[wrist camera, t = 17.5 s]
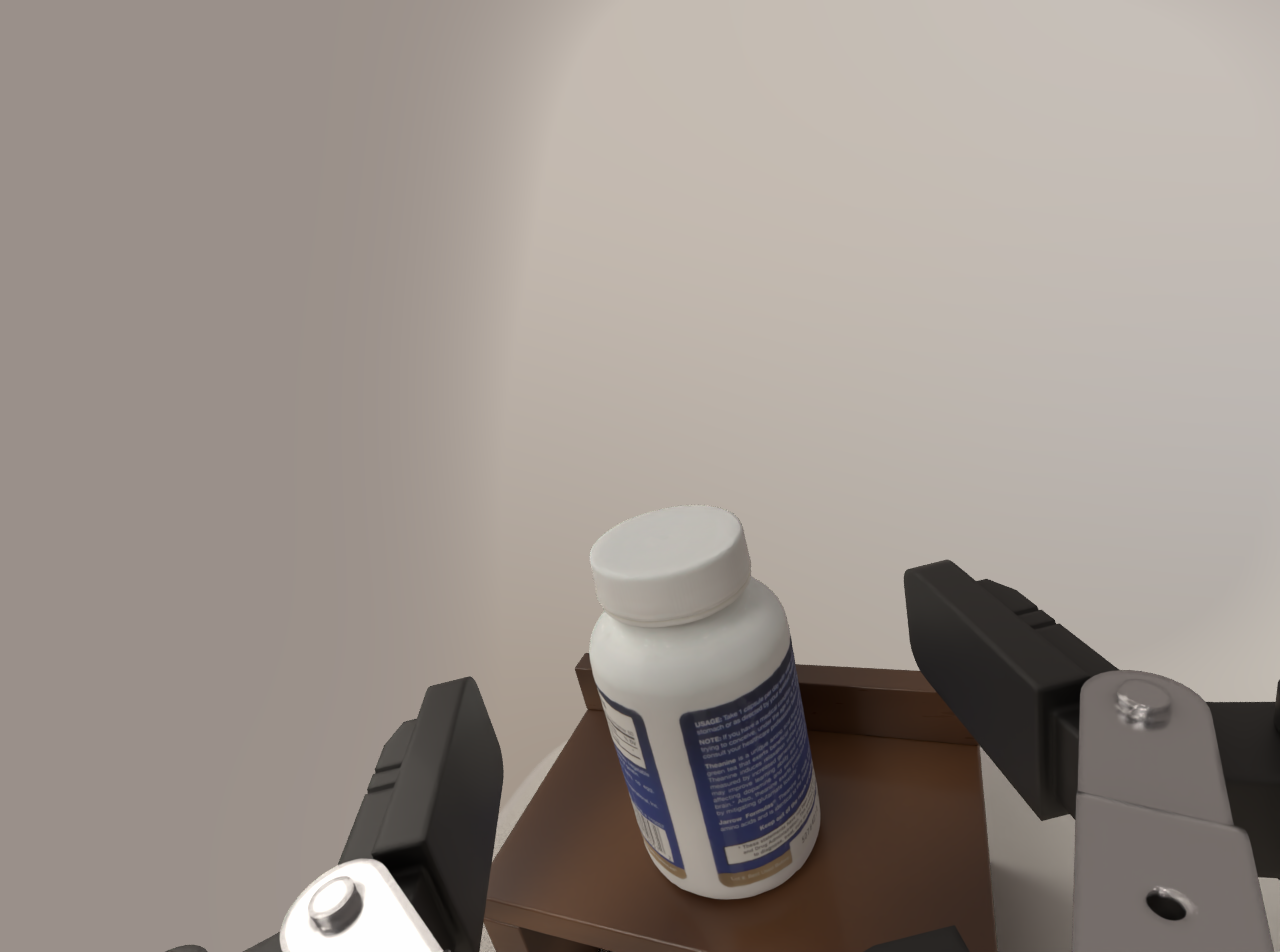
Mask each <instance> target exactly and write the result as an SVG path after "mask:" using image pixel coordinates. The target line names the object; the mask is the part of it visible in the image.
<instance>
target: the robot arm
mask: <svg viewBox="0 0 1280 952" xmlns="http://www.w3.org/2000/svg"><path fill="white" fill-rule="evenodd" d="M904 588H905V598H906V607H907V617H908V627H909V636H910V644H911V649H912V652H913V655H914V658H915V661H916V663H917V665H918V667H919V669H920V671H921V673H922V674H923V676H924V677H925V678H926V680H927V681H928V682H929V683H930V685H931V686H932V687H933V688H934V689H935V691H936V692H937V693H938V694H939V696H940V697H941V698H942V699H943V701H944V702H945V703H946V704H947V705H948V707H949V708H950V709H951V710H952V712H953V713H954V714H955V715H956V717H957V718H958V719H959V720H960V721H961V723H962V724H963V725H964V726H965V728H966V729H967V730H968V731H969V733H970V734H971V735H972V736H973V737H974V739H975V740H976V741H977V742H978V744H979V745H980V746H981V747H982V748H983V750H984V751H985V752H986V753H987V755H988V756H989V757H990V758H991V760H992V761H993V762H994V763H995V764H996V766H997V767H998V768H999V769H1000V771H1001V772H1002V773H1003V774H1004V776H1005V777H1006V778H1007V779H1008V780H1009V782H1010V783H1011V784H1012V785H1013V787H1014V788H1015V789H1016V790H1017V792H1018V793H1019V794H1020V795H1021V796H1022V798H1023V799H1024V800H1025V801H1026V803H1027V804H1028V805H1029V806H1030V808H1031V809H1032V810H1033V811H1034V812H1035V814H1036V815H1037V816H1038V817H1039V819H1040V820H1041V821H1043V820H1047V819H1051V818H1055V817H1059V816H1063V815H1067V814H1071V816H1072V817H1073V818H1074V819H1075V820H1076V825H1075V860H1074V895H1073V931H1072V952H1274V949H1273V944H1272V940H1271V935H1270V931H1269V926H1268V921H1267V917H1266V912H1265V907H1264V903H1263V898H1262V894H1261V889H1260V884H1259V880H1258V877H1267V878H1278V879H1279V880H1280V680H1279V682H1278V687H1277V696H1276V702H1205V701H1204V700H1203V699H1202V698H1201V697H1200V696H1199V695H1198V694H1196V693H1195V692H1194V691H1192V690H1191V689H1190V688H1188V687H1186V686H1184V685H1183V684H1181V683H1178V682H1176V681H1174V680H1172V679H1169V678H1166V677H1163V676H1160V675H1156V674H1153V673H1147V672H1142V671H1132V670H1119V669H1117V668H1116V667H1115V666H1113V665H1112V664H1111V663H1109V662H1108V661H1107V660H1105V659H1104V658H1103V657H1102V656H1101V655H1099V654H1098V653H1097V652H1095V651H1094V650H1093V649H1091V648H1090V647H1089V646H1088V645H1086V644H1085V643H1084V642H1082V641H1081V640H1080V639H1079V638H1077V637H1076V636H1075V635H1073V634H1072V633H1071V632H1069V631H1068V630H1067V629H1066V628H1064V627H1063V626H1062V625H1060V624H1056V623H1055V620H1054V619H1053V618H1051V617H1050V616H1049V615H1048V614H1046V613H1045V612H1044V611H1042V610H1038V608H1037V606H1036V605H1035V604H1033V603H1032V602H1031V601H1030V600H1028V599H1026V597H1024V596H1023V595H1022V594H1020V593H1019V592H1018V591H1017V590H1014V589H1012V588H1009V587H1007V586H1004V585H1001V584H998V583H996V582H994V581H991V580H988V579H984V580H981V581H975V580H974V579H973V578H971V577H970V576H969V575H968V574H967V573H965V572H964V571H963V570H962V569H961V568H959V567H958V566H957V565H955V563H953V562H952V561H950V560H944V561H939V562H936V563H931V564H927V565H923V566H919V567H916V568H912V569H908V570H906V571H905V574H904ZM375 772H376V773H375V774H373V776H372V778H371V781H370V783H369V786H368V789H367V790H368V794H366V795H365V796H364V799H363V801H362V804H361V807H360V809H359V812H358V814H357V817H356V819H355V822H354V825H353V827H352V830H351V832H350V835H349V837H348V840H347V843H346V845H345V848H344V851H343V853H342V855H341V858H340V861H339V863H338V866H336V867H334V868H332V869H331V870H329V871H327V872H326V873H324V874H323V875H321V876H320V877H319V878H317V879H316V880H315V881H314V882H312V883H311V884H310V885H309V886H308V887H307V888H306V889H305V890H304V891H303V892H302V893H301V894H300V895H299V897H298V898H297V899H296V901H295V902H294V903H293V904H292V906H291V907H290V909H289V911H288V912H287V914H286V916H285V918H284V921H283V923H282V927H281V931H280V932H279V933H277V934H275V935H273V936H272V937H270V938H268V939H266V940H264V941H263V942H260V943H259V944H257V945H255V946H253V947H251V948H249V949H247V950H245V951H243V952H479V950H480V942H481V935H482V928H483V921H484V914H485V907H486V899H487V892H488V885H489V878H490V871H491V864H492V856H493V849H494V842H495V835H496V828H497V821H498V813H499V806H500V799H501V792H502V785H503V761H502V754H501V750H500V746H499V743H498V740H497V737H496V734H495V732H494V729H493V726H492V724H491V721H490V718H489V716H488V713H487V710H486V707H485V705H484V702H483V699H482V696H481V694H480V691H479V688H478V686H477V684H476V682H475V680H474V679H473V678H472V677H465V678H462V679H457V680H453V681H449V682H445V683H441V684H437V685H433V686H430V687H429V688H428V689H427V691H426V694H425V697H424V700H423V703H422V706H421V709H420V712H419V715H418V717H417V719H414V720H410V721H406V722H403V724H402V725H401V726H400V727H399V729H398V730H397V731H396V732H395V733H394V734H393V736H392V737H391V738H390V739H389V741H388V742H387V743H386V744H385V745H384V748H383V750H382V753H381V756H380V758H379V760H378V763H377V766H376V768H375ZM166 952H207V951H206V949H204V948H203V947H201V946H196V945H185V946H180V947H176V948H173V949H171V950H168V951H166ZM864 952H970V951H969V949H968V948H967V946H966V944H965V942H964V941H963V939H962V937H961V935H960V933H959V932H958V930H957V928H956V926H955V925H953V926H949V927H945V928H941V929H937V930H933V931H929V932H925V933H921V934H917V935H913V936H909V937H905V938H901V939H897V940H893V941H890V942H886V943H882V944H878V945H874V946H872V947H870V948H869V949H867V950H865V951H864Z"/></svg>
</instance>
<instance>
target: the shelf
mask: <svg viewBox="0 0 1280 952" xmlns="http://www.w3.org/2000/svg"><path fill="white" fill-rule="evenodd" d="M795 666H796V671H797V677H798V683H799V688H800V694H801V700H802V705H803V711H804V717H805V722H806V727H807V734H808V739H809V745H810V750H811V756H812V762H813V768H814V772H815V778H816V783H817V789H818V796H819V805H820V827H819V832H818V836H817V839H816V842H815V844H814V847H813V849H812V851H811V853H810V855H809V856H808V858H807V860H806V861H805V863H804V864H803V866H802V867H801V868H800V869H799V870H798V871H796V872H795V873H794V874H793V875H792V876H791V877H790V878H789V879H788V880H787V881H785V882H784V883H783V884H781V885H779V886H777V887H776V888H774V889H772V890H769V891H766V892H763V893H761V894H758V895H756V896H752V897H747V898H742V899H714V898H709V897H704V896H700V895H697V894H694V893H692V892H689V891H686V890H683V889H681V888H680V887H678V886H677V885H676V884H674V883H672V882H671V881H670V880H669V879H667V878H666V876H665V875H664V874H663V873H662V872H661V871H660V870H659V869H658V867H657V866H656V865H655V864H654V862H653V860H652V859H651V857H650V855H649V852H648V850H647V848H646V846H645V843H644V839H643V837H642V834H641V831H640V828H639V825H638V822H637V819H636V815H635V812H634V808H633V805H632V802H631V798H630V795H629V791H628V787H627V784H626V781H625V778H624V775H623V771H622V768H621V765H620V761H619V758H618V755H617V751H616V748H615V745H614V742H613V739H612V736H611V733H610V729H609V725H608V722H607V718H606V715H605V712H604V709H603V706H602V702H601V699H600V695H599V692H598V689H597V685H596V683H595V680H594V677H593V672H592V667H591V663H590V655H589V653H585V654H584V656H583V657H582V659H581V660H580V662H579V663H578V664H577V666H576V667H575V671H576V674H577V678H578V681H579V684H580V687H581V691H582V694H583V697H584V700H585V704H586V706H587V709H588V710H587V712H586V713H585V715H584V716H583V718H582V720H581V721H580V723H579V725H578V726H577V728H576V729H575V731H574V733H573V734H572V736H571V737H570V739H569V740H568V742H567V744H566V745H565V747H564V748H563V750H562V752H561V753H560V755H559V756H558V758H557V760H556V761H555V763H554V764H553V766H552V768H551V769H550V771H549V772H548V774H547V776H546V777H545V779H544V780H543V782H542V784H541V785H540V787H539V788H538V790H537V792H536V793H535V795H534V796H533V798H532V800H531V801H530V803H529V804H528V806H527V808H526V809H525V811H524V812H523V814H522V816H521V817H520V819H519V820H518V822H517V824H516V825H515V827H514V828H513V830H512V832H511V833H510V835H509V836H508V838H507V840H506V841H505V843H504V844H503V846H502V847H501V849H500V851H499V852H498V854H497V855H496V857H495V859H494V860H493V862H492V864H491V871H490V878H489V885H488V892H487V899H486V907H485V914H484V921H483V922H484V925H485V927H486V929H487V932H488V934H489V936H490V939H491V941H492V943H493V946H494V948H495V950H496V952H598V950H599V948H601V949H605V950H609V951H613V952H864V951H865V950H867V949H869V948H870V947H872V946H874V945H878V944H882V943H886V942H890V941H893V940H897V939H901V938H905V937H909V936H913V935H917V934H921V933H925V932H929V931H933V930H937V929H941V928H945V927H949V926H953V925H955V926H956V928H957V930H958V932H959V933H960V935H961V937H962V939H963V941H964V942H965V944H966V946H967V948H968V949H969V951H970V952H998V949H997V938H996V927H995V915H994V904H993V893H992V881H991V870H990V859H989V847H988V836H987V825H986V813H985V802H984V791H983V779H982V768H981V757H980V745H979V744H978V742H977V741H976V740H975V739H974V737H973V736H972V735H971V734H970V733H969V731H968V730H967V729H966V728H965V726H964V725H963V724H962V723H961V721H960V720H959V719H958V718H957V717H956V715H955V714H954V713H953V712H952V710H951V709H950V708H949V707H948V705H947V704H946V703H945V702H944V701H943V699H942V698H941V697H940V696H939V694H938V693H937V692H936V691H935V689H934V688H933V687H932V686H931V685H930V683H929V682H928V681H927V680H926V678H925V677H924V676H923V674H922V673H921V671H909V670H892V669H891V670H890V669H873V668H854V667H835V666H817V665H816V666H815V665H799V664H795Z"/></svg>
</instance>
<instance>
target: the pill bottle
mask: <svg viewBox="0 0 1280 952" xmlns="http://www.w3.org/2000/svg"><path fill="white" fill-rule="evenodd" d="M590 565H591V569H592V574H593V578H594V582H595V587H596V596H597V599H598V601H599V602H600V604H601V605H602V607H603V609H604V612H603V613H602V614H601V616H600V618H599V619H598V621H597V623H596V625H595V627H594V629H593V632H592V635H591V639H590V647H589V655H590V663H591V667H592V672H593V677H594V680H595V683H596V685H597V689H598V692H599V695H600V699H601V702H602V706H603V709H604V712H605V715H606V718H607V722H608V725H609V729H610V733H611V736H612V739H613V742H614V745H615V748H616V751H617V755H618V758H619V761H620V765H621V768H622V771H623V775H624V778H625V781H626V784H627V787H628V791H629V795H630V798H631V802H632V805H633V808H634V812H635V815H636V819H637V822H638V825H639V828H640V831H641V834H642V837H643V839H644V843H645V846H646V848H647V850H648V852H649V855H650V857H651V859H652V860H653V862H654V864H655V865H656V866H657V867H658V869H659V870H660V871H661V872H662V873H663V874H664V875H665V876H666V878H667V879H669V880H670V881H671V882H672V883H674V884H676V885H677V886H678V887H680V888H681V889H683V890H686V891H689V892H692V893H694V894H697V895H700V896H704V897H709V898H714V899H742V898H747V897H752V896H756V895H758V894H761V893H763V892H766V891H769V890H772V889H774V888H776V887H777V886H779V885H781V884H783V883H784V882H785V881H787V880H788V879H789V878H790V877H791V876H792V875H793V874H794V873H795V872H796V871H798V870H799V869H800V868H801V867H802V866H803V864H804V863H805V861H806V860H807V858H808V856H809V855H810V853H811V851H812V849H813V847H814V844H815V842H816V839H817V836H818V832H819V827H820V805H819V796H818V789H817V783H816V778H815V772H814V768H813V762H812V756H811V750H810V745H809V739H808V734H807V727H806V722H805V717H804V711H803V705H802V700H801V694H800V688H799V683H798V677H797V671H796V666H795V660H794V653H793V648H792V641H791V636H790V631H789V625H788V622H787V617H786V614H785V611H784V608H783V606H782V604H781V603H780V601H779V599H778V597H777V596H776V595H775V594H774V593H773V591H771V590H770V589H769V588H768V587H767V586H766V585H764V584H763V583H762V582H760V581H759V580H757V579H755V578H753V577H751V560H750V556H749V553H748V549H747V544H746V540H745V535H744V530H743V527H742V524H741V522H740V520H739V519H738V518H737V517H736V516H735V515H734V514H733V513H731V512H729V511H727V510H724V509H722V508H719V507H713V506H705V505H684V506H675V507H669V508H664V509H659V510H655V511H651V512H648V513H645V514H642V515H639V516H637V517H633V518H631V519H629V520H627V521H624V522H622V523H620V524H618V525H617V526H615V527H613V528H611V529H610V530H609V531H607V532H606V533H604V534H603V535H602V536H601V537H600V538H599V539H598V540H597V541H596V542H595V544H594V545H593V547H592V549H591V551H590Z"/></svg>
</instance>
